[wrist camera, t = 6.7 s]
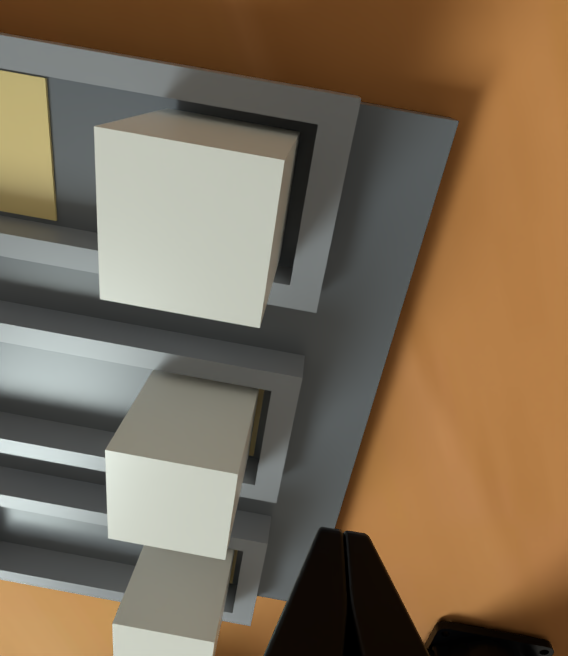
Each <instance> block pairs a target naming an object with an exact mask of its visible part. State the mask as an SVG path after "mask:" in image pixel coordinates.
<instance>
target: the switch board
mask: <svg viewBox="0 0 568 656" xmlns="http://www.w3.org/2000/svg"><path fill="white" fill-rule="evenodd" d="M166 108H169V109H175V110H180V111H186V112H192V113H197V114H203V115H208V116H214V117H220V118H225V119H231V120H237V121H242V122H248V123H253V124H259V125H265V126H270V127H276V128H282V129H287V130H293V131H298V132H300V136H299V142H298V148H297V155H296V161H295V167H294V174H293V180H292V186H291V192H290V199H289V205H288V211H287V218H286V224H285V230H284V236H283V243H282V249H281V255H280V260H279V263H278V267H277V270H276V274H275V277H274V281H273V284H272V287H271V291H270V294H269V298H268V301H267V305H266V308H265V312H264V315H263V319H262V322H261V325H260V328H256V327H250V326H245V325H239V324H234V323H228V322H223V321H217V320H212V319H206V318H201V317H195V316H190V315H184V314H179V313H173V312H168V311H162V310H157V309H151V308H146V307H140V306H135V305H129V304H124V303H118V302H113V301H107V300H102V299H100V290H99V261H98V232H97V203H96V174H95V145H94V126H97V125H101V124H105V123H109V122H113V121H117V120H121V119H125V118H130V117H134V116H138V115H142V114H146V113H150V112H154V111H158V110H162V109H166ZM458 122H459V121H457V120H455V119H452V118H450V117H444V116H439V115H433V114H427V113H422V112H416V111H411V110H405V109H399V108H394V107H388V106H382V105H377V104H371V103H365V102H361V98H360V97H359V96H357V95H352V94H346V93H340V92H335V91H329V90H323V89H318V88H312V87H306V86H301V85H295V84H289V83H284V82H278V81H272V80H267V79H261V78H256V77H250V76H244V75H239V74H233V73H227V72H222V71H216V70H210V69H205V68H199V67H193V66H188V65H182V64H176V63H171V62H165V61H159V60H154V59H148V58H143V57H137V56H131V55H126V54H120V53H114V52H109V51H103V50H97V49H92V48H86V47H80V46H75V45H69V44H63V43H58V42H52V41H47V40H41V39H35V38H30V37H24V36H18V35H13V34H7V33H1V32H0V579H1V580H6V581H12V582H17V583H22V584H28V585H33V586H38V587H44V588H49V589H54V590H60V591H65V592H71V593H76V594H81V595H87V596H92V597H97V598H103V599H108V600H113V601H119V602H121V601H122V598H123V596H124V593H125V591H126V588H127V586H128V583H129V581H130V578H131V576H132V573H133V571H134V568H135V566H136V563H137V561H138V558H139V556H140V553H141V551H142V548H143V546H144V545H141V544H136V543H130V542H125V541H120V540H114V539H109V538H108V522H107V493H106V464H105V449H106V447H107V446H108V444H109V443H110V441H111V439H112V438H113V436H114V434H115V433H116V431H117V429H118V428H119V426H120V424H121V423H122V421H123V419H124V418H125V416H126V414H127V413H128V411H129V409H130V408H131V406H132V404H133V403H134V401H135V399H136V398H137V396H138V394H139V393H140V391H141V389H142V388H143V386H144V384H145V383H146V381H147V379H148V378H149V376H150V374H151V373H152V371H153V370H159V371H164V372H170V373H175V374H181V375H186V376H192V377H197V378H203V379H208V380H214V381H219V382H225V383H230V384H236V385H241V386H246V387H252V388H257V389H259V393H258V400H257V406H256V412H255V418H254V425H253V431H252V437H251V444H250V450H249V456H248V460H247V465H246V469H245V474H244V478H243V483H242V487H241V492H240V496H239V501H238V505H237V510H236V514H235V519H234V523H233V528H232V532H231V537H230V541H229V545H228V549H233V550H235V551H234V558H233V564H232V570H231V576H230V582H229V588H228V593H227V597H226V602H225V607H224V612H223V617H222V621H226V622H231V623H237V624H242V625H248V626H251V621H252V616H253V611H254V607H255V602H256V597H257V596H262V597H267V598H273V599H278V600H283V601H287V600H288V598H289V596H290V593H291V591H292V589H293V586H294V584H295V582H296V579H297V577H298V575H299V572H300V570H301V568H302V566H303V563H304V561H305V559H306V556H307V554H308V552H309V549H310V547H311V545H312V542H313V540H314V538H315V535H316V533H317V531H318V529H319V528H320V527H327V528H335V525H336V522H337V519H338V515H339V512H340V509H341V506H342V502H343V499H344V496H345V492H346V489H347V486H348V483H349V479H350V476H351V473H352V470H353V466H354V463H355V460H356V456H357V453H358V450H359V447H360V443H361V440H362V437H363V434H364V430H365V427H366V424H367V420H368V417H369V414H370V411H371V407H372V404H373V401H374V398H375V394H376V391H377V388H378V384H379V381H380V378H381V375H382V371H383V368H384V365H385V361H386V358H387V355H388V352H389V348H390V345H391V342H392V339H393V335H394V332H395V329H396V325H397V322H398V319H399V316H400V312H401V309H402V306H403V303H404V299H405V296H406V293H407V289H408V286H409V283H410V280H411V276H412V273H413V270H414V267H415V263H416V260H417V257H418V253H419V250H420V247H421V244H422V240H423V237H424V234H425V231H426V227H427V224H428V221H429V217H430V214H431V211H432V208H433V204H434V201H435V198H436V195H437V191H438V188H439V185H440V181H441V178H442V175H443V172H444V168H445V165H446V162H447V158H448V155H449V152H450V149H451V145H452V142H453V139H454V136H455V132H456V129H457V126H458Z"/></svg>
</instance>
